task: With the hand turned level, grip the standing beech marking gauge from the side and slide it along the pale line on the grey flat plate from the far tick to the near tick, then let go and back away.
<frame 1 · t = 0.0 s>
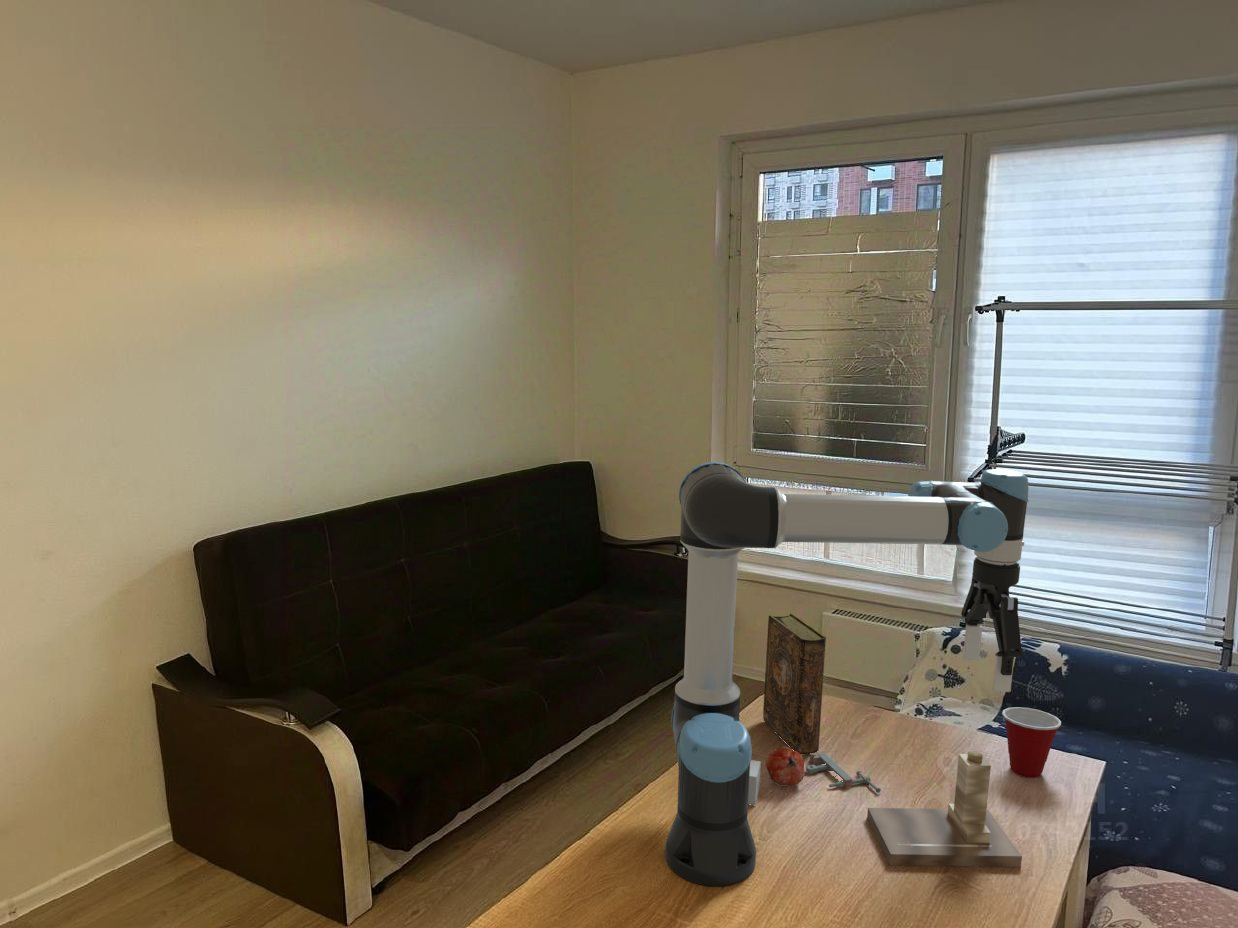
hand: (985, 674, 162), 28 cm above the table, tool pointing down, fingers open, 13 cm apart
clamp: (837, 780, 180), on the table
plastic cup: (1025, 771, 184), on the table
pomegranate: (784, 783, 178), on the table
grey flat plate: (940, 841, 160), on the table
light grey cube: (741, 796, 173), on the table
beech marking gauge: (968, 827, 160), point 2 cm above the table, touching grey flat plate
book: (791, 736, 197), on the table
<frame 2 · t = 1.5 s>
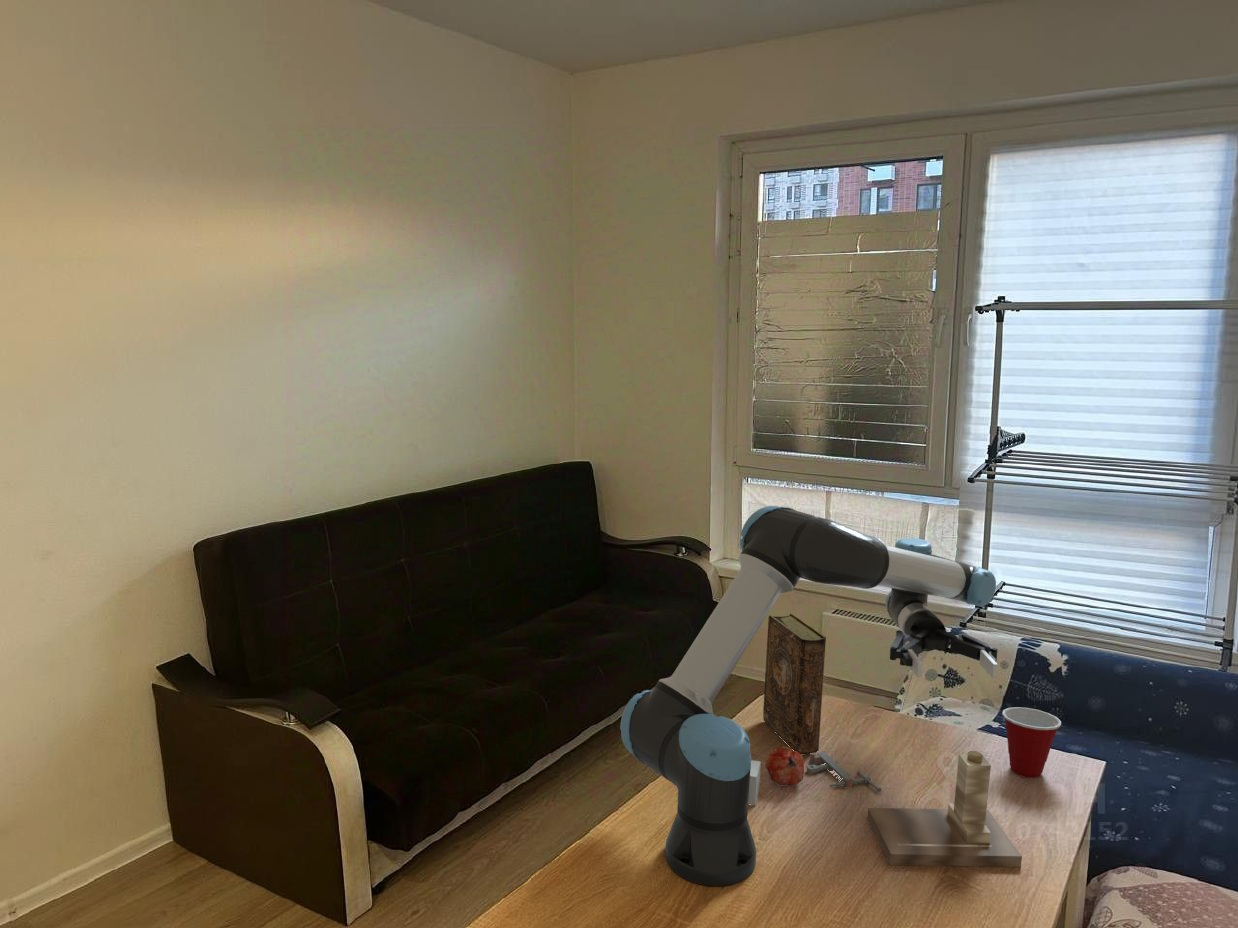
hand: (957, 670, 166), 27 cm above the table, tool horizontal, fingers open, 13 cm apart
nothing on the table moved.
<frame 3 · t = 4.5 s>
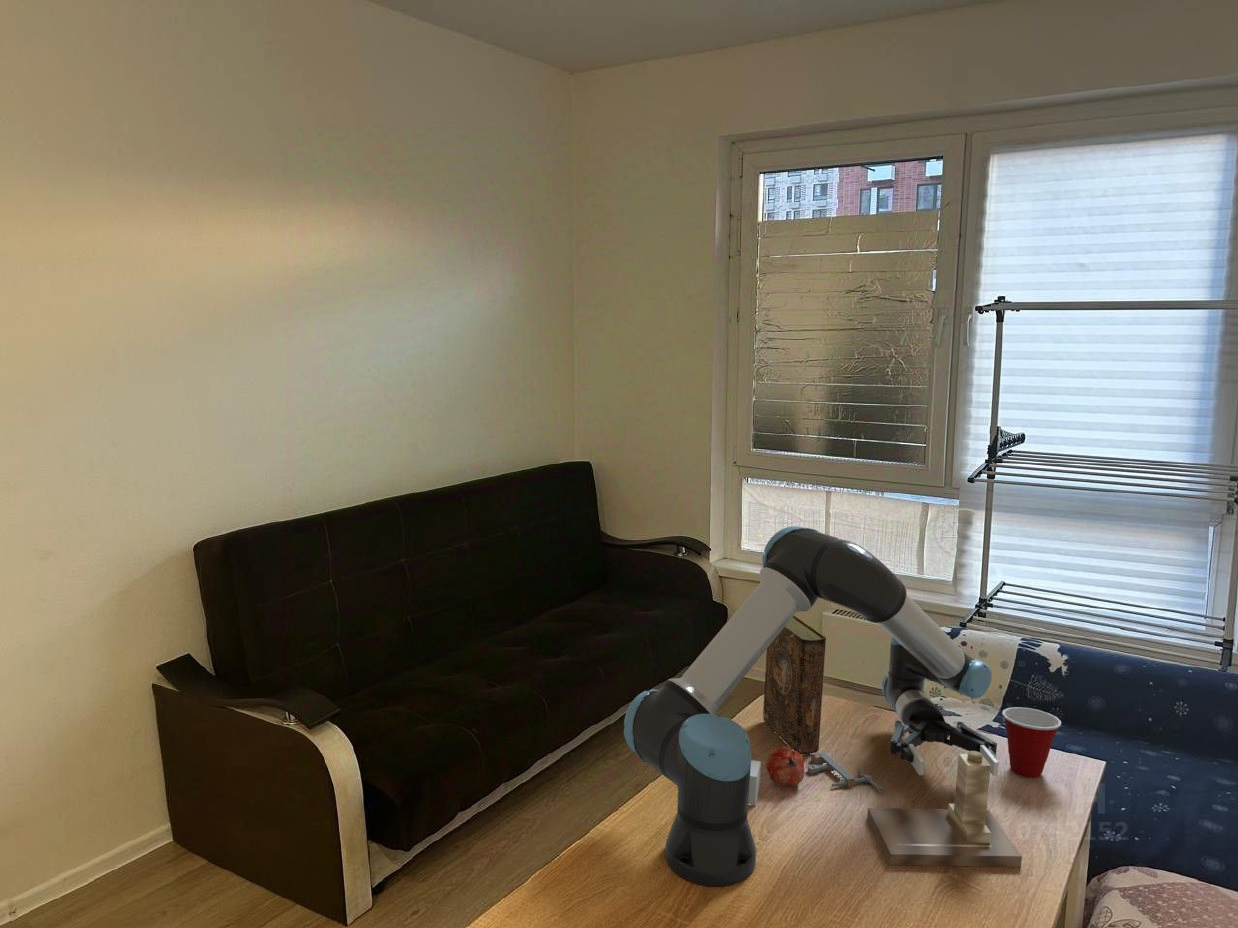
hand: (959, 768, 166), 9 cm above the table, tool horizontal, fingers open, 13 cm apart
nothing on the table moved.
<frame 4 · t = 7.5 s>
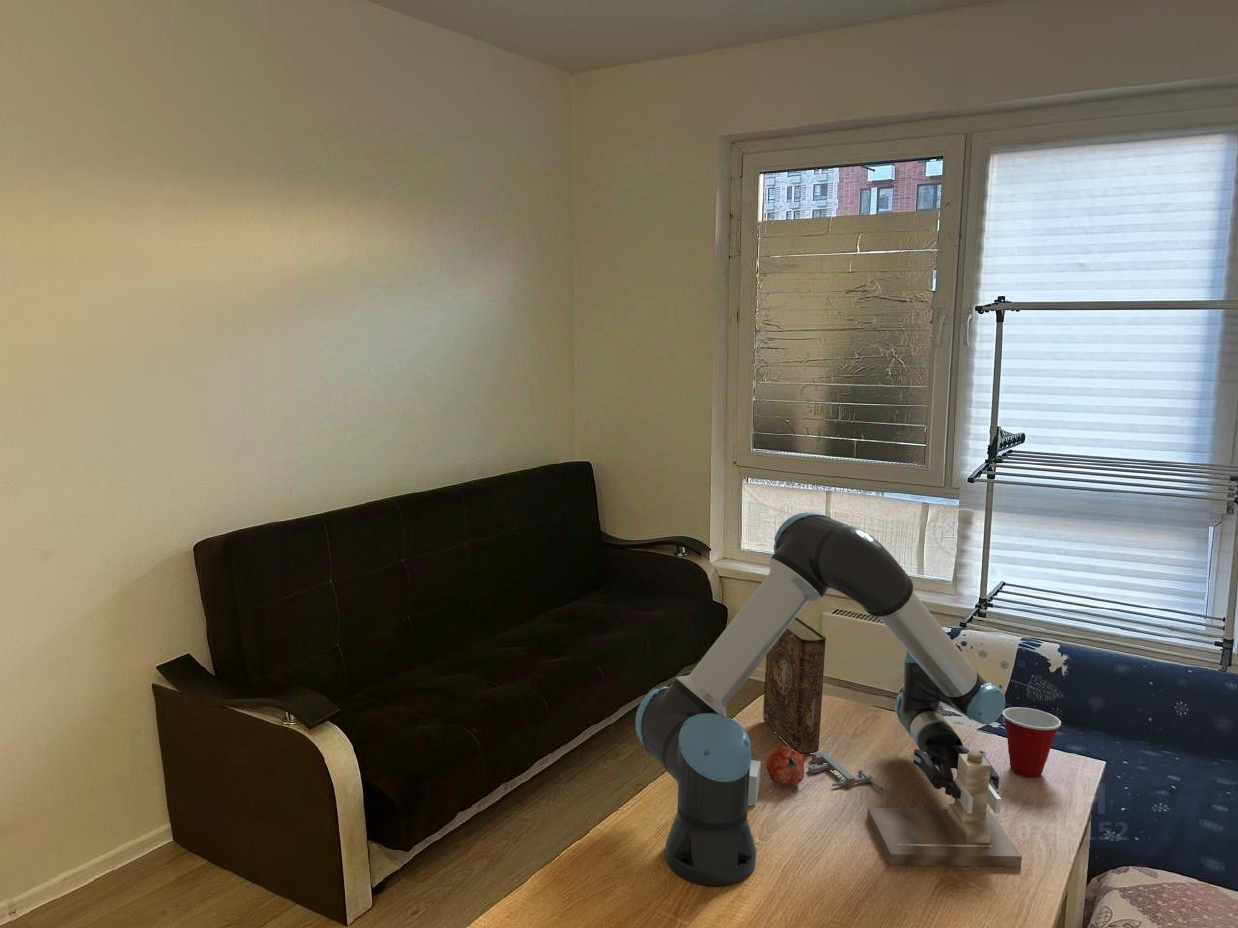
hand: (984, 805, 154), 10 cm above the table, tool horizontal, fingers closed on beech marking gauge, 4 cm apart
beech marking gauge: (968, 827, 160), point 2 cm above the table, touching gripper, grey flat plate
everything else where it was.
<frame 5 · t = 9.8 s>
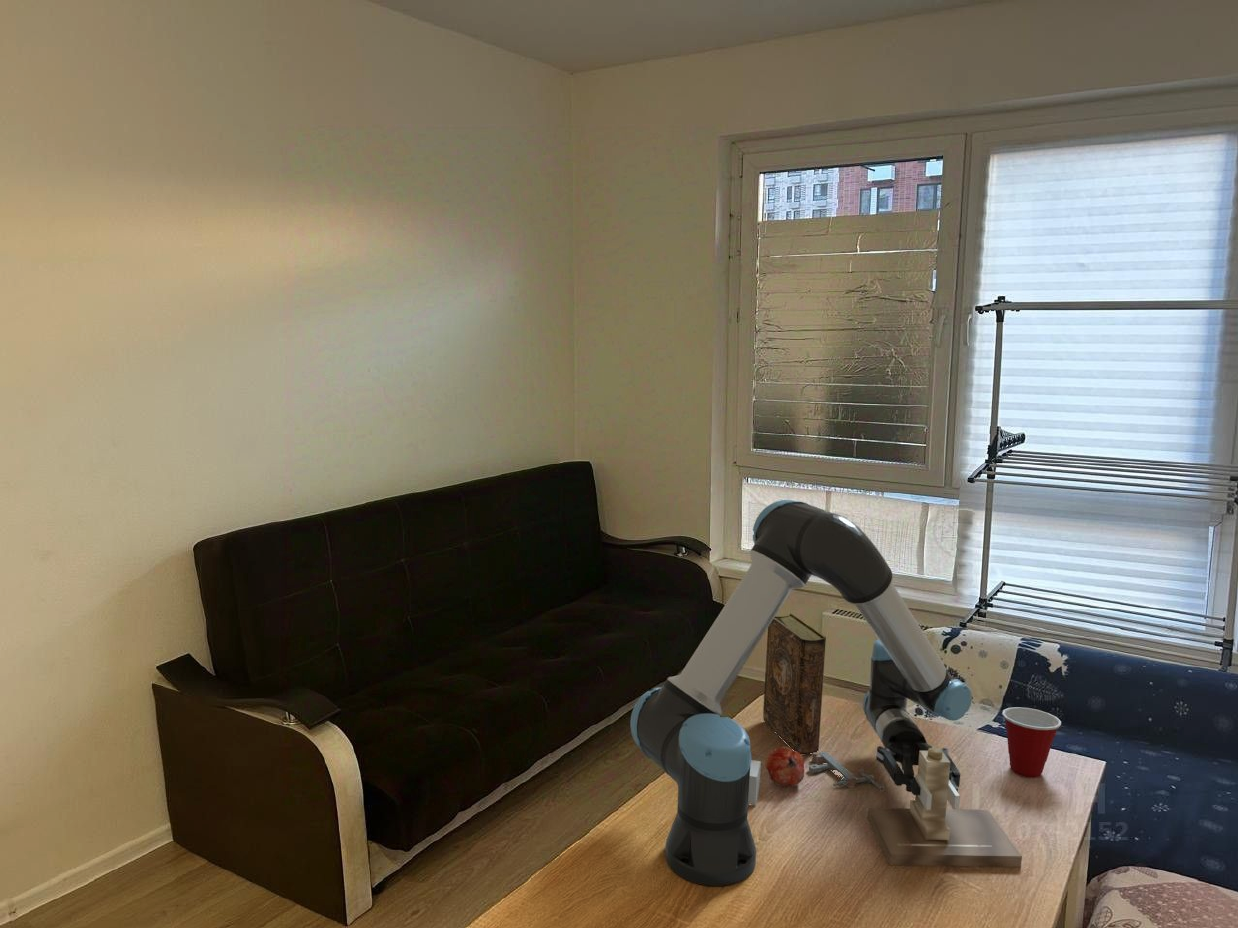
hand: (943, 802, 154), 10 cm above the table, tool horizontal, fingers closed on beech marking gauge, 4 cm apart
beech marking gauge: (928, 824, 160), point 2 cm above the table, touching gripper
everything else where it was.
when the fingers open (10 cm above the table, at t = 11.9 s): beech marking gauge stays where it is, resting on grey flat plate.
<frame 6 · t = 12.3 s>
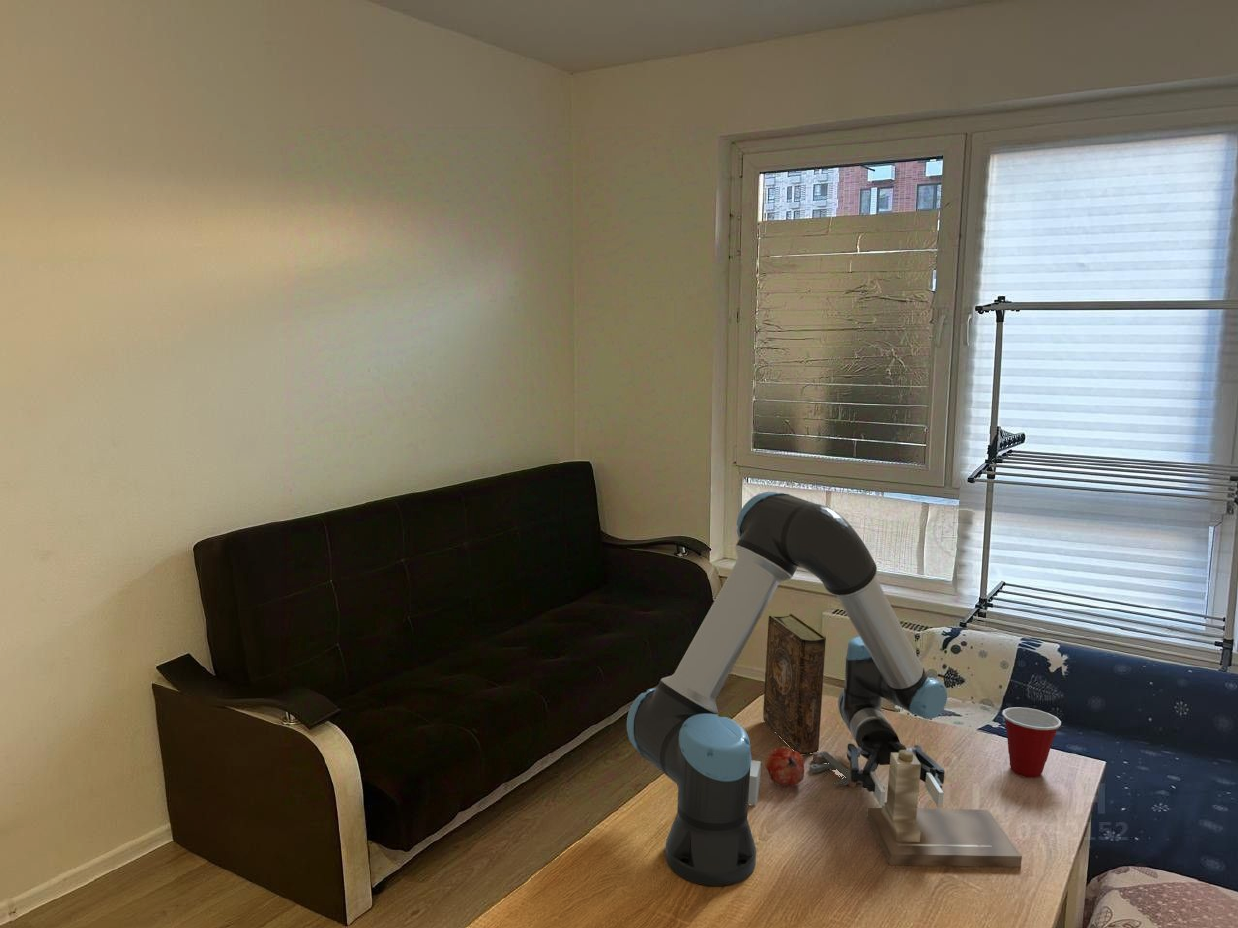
hand: (911, 799, 154), 10 cm above the table, tool horizontal, fingers open, 9 cm apart
beech marking gauge: (899, 826, 160), point 2 cm above the table, touching grey flat plate
everything else where it was.
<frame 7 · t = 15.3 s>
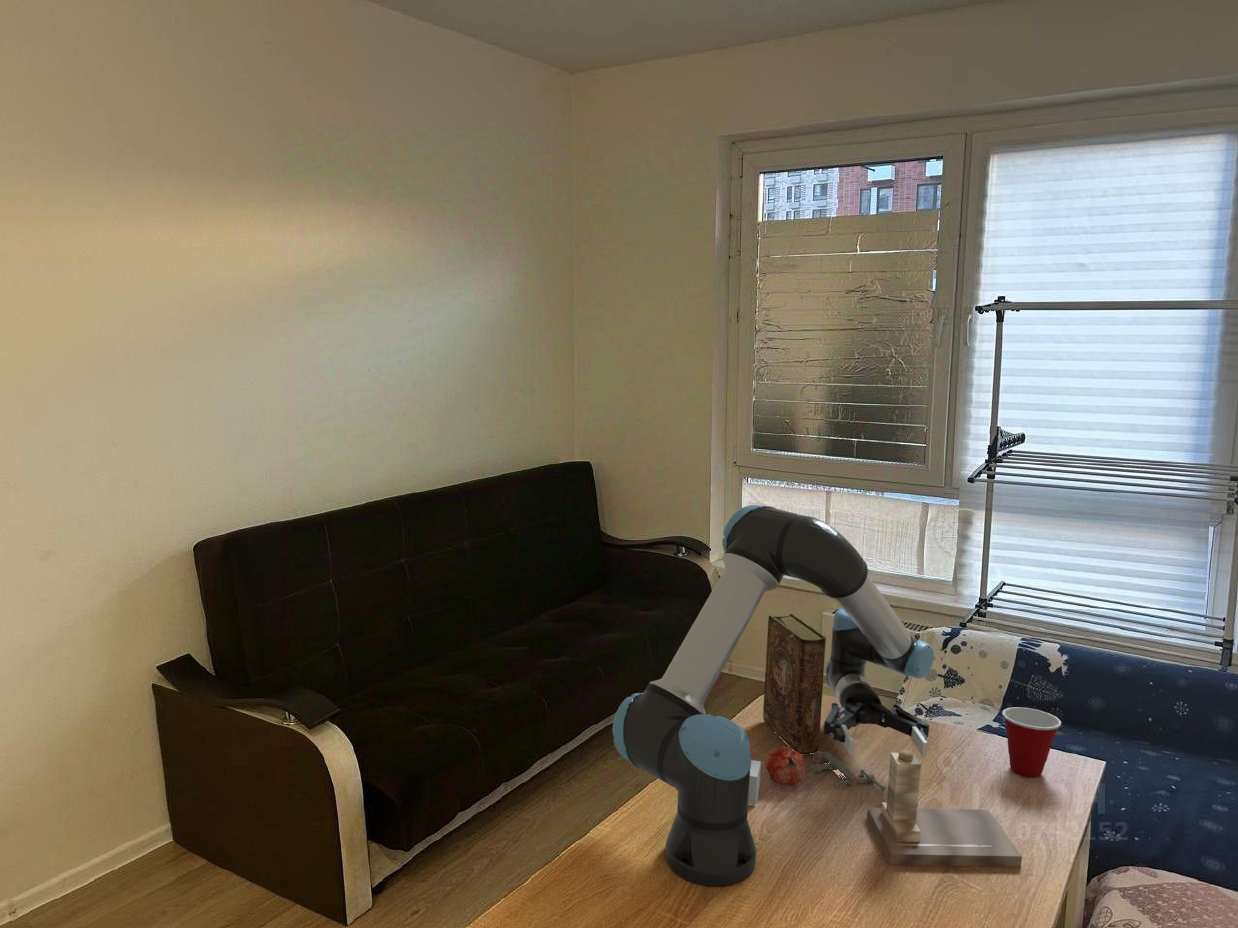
hand: (888, 748, 168), 12 cm above the table, tool horizontal, fingers open, 13 cm apart
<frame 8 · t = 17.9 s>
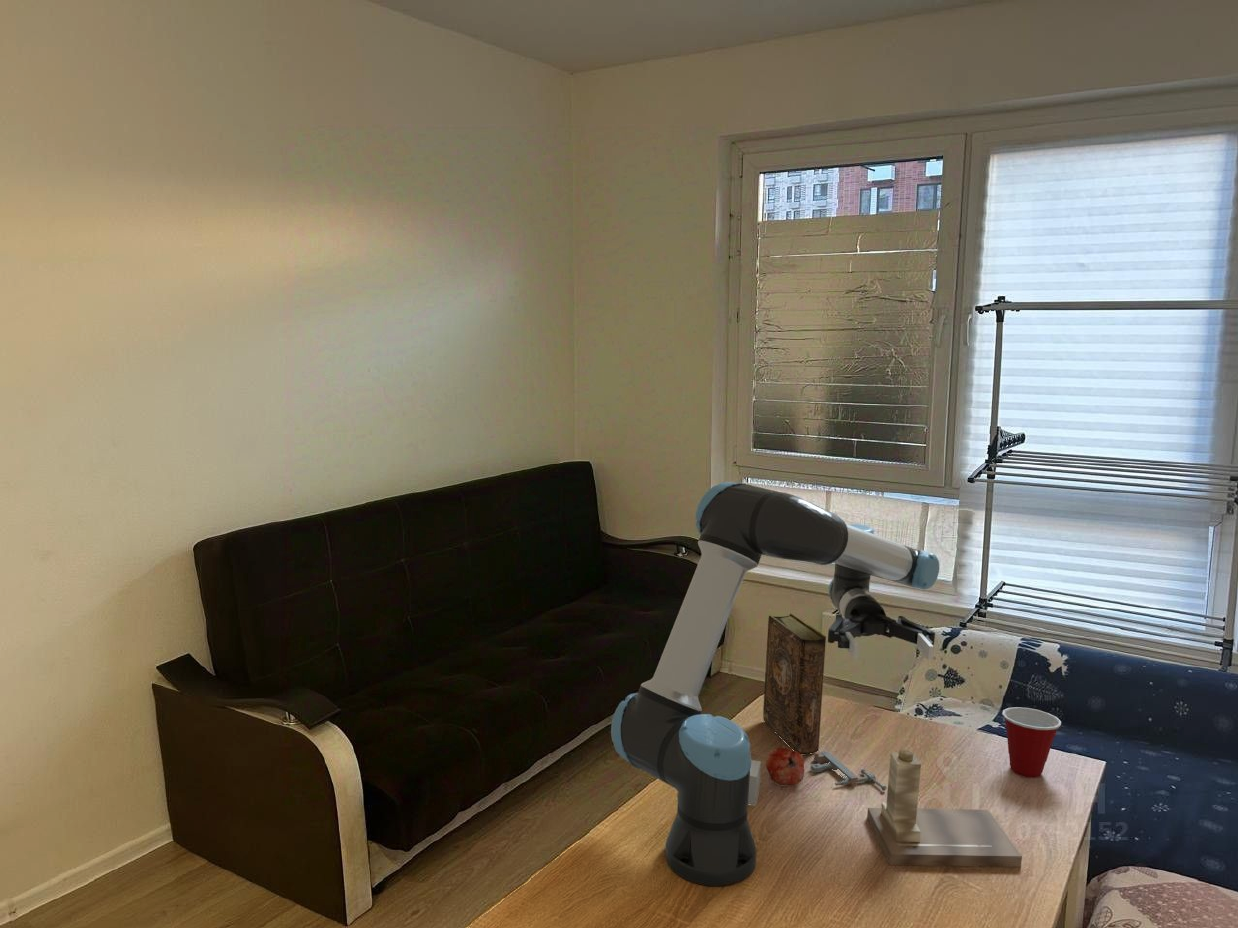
hand: (893, 652, 166), 30 cm above the table, tool horizontal, fingers open, 13 cm apart
at the end: beech marking gauge 0.2 cm from the target spot, point 2.0 cm above the table; beech marking gauge tilted 0°; the gripper is holding nothing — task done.
